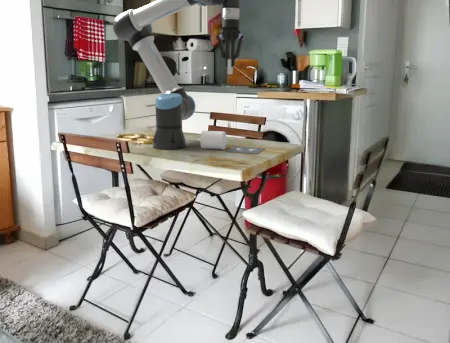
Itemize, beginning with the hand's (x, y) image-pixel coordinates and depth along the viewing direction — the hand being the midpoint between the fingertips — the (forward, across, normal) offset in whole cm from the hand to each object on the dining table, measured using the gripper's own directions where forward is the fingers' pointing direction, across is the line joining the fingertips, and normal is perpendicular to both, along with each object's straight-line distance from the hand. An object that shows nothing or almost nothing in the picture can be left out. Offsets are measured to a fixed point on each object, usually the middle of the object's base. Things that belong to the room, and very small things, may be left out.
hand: (230, 74), depth 202 cm
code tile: (+32, +11, -10) cm, 36 cm away
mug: (+33, -4, -10) cm, 34 cm away
